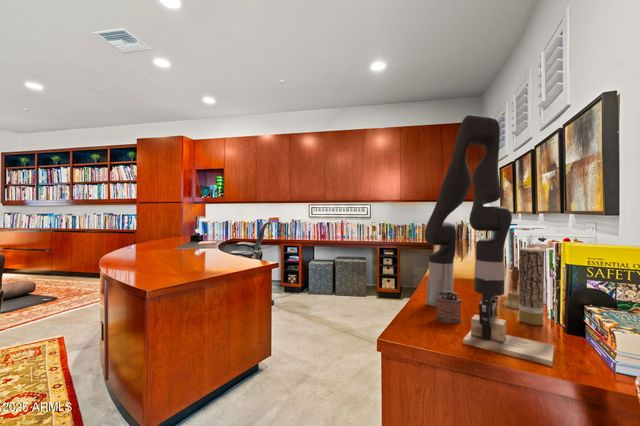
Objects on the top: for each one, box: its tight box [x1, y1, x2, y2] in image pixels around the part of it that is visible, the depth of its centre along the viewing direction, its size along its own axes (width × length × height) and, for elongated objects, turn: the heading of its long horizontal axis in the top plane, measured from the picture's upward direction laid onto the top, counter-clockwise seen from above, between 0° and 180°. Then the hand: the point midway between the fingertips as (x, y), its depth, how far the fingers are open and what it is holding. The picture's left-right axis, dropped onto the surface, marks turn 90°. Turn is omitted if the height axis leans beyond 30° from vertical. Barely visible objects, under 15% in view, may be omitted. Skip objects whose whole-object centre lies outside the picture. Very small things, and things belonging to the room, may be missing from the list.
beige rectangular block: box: [470, 314, 507, 343], centre depth 88 cm, size 8×5×5 cm, turn 51°
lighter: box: [435, 291, 462, 324], centre depth 106 cm, size 8×3×10 cm, turn 71°
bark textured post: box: [518, 247, 545, 326], centre depth 105 cm, size 7×7×25 cm
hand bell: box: [502, 266, 520, 310], centre depth 124 cm, size 8×8×16 cm
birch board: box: [462, 330, 555, 367], centre depth 85 cm, size 20×12×1 cm, turn 51°
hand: (488, 335), depth 88 cm, fingers closed on beige rectangular block, 5 cm apart
